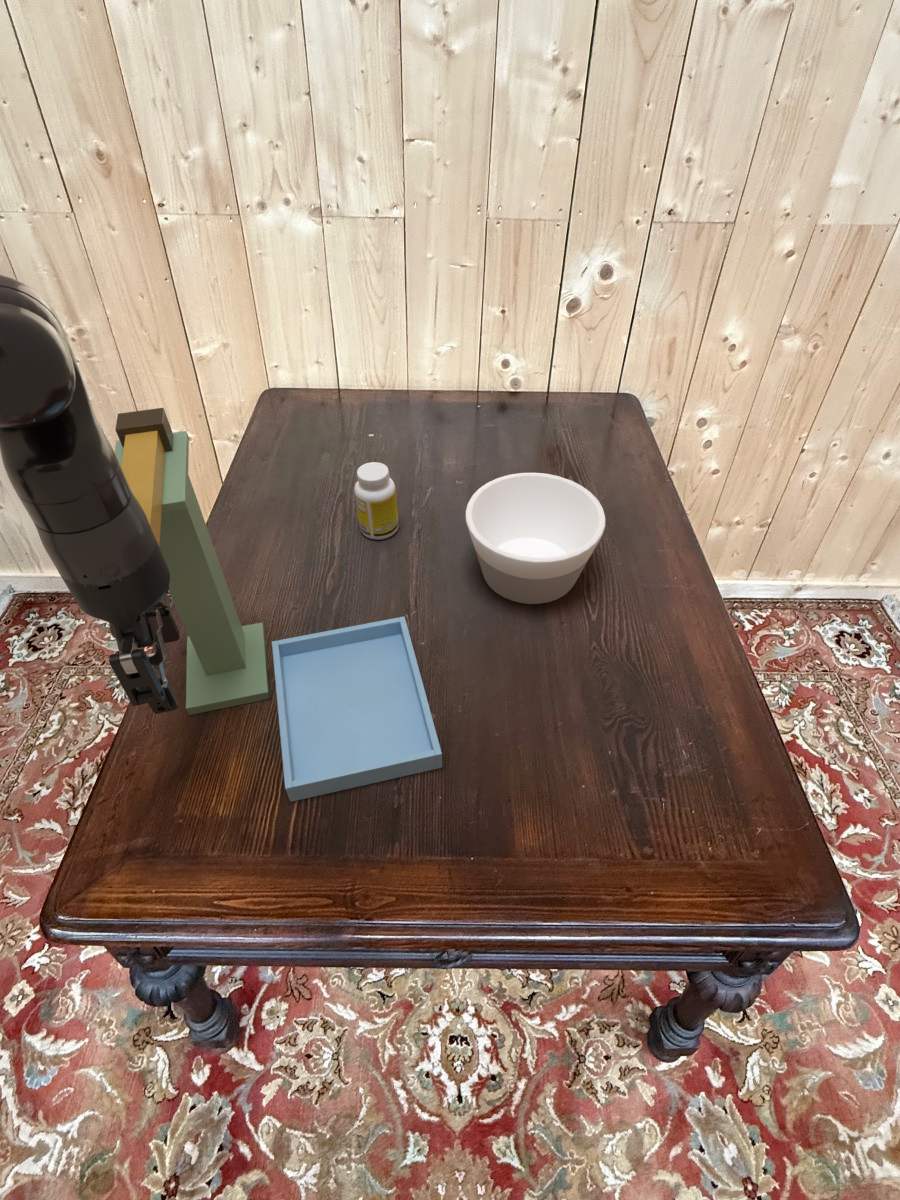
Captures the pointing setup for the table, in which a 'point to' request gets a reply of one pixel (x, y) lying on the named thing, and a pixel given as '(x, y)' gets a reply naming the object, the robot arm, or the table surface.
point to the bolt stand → (205, 600)
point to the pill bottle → (376, 501)
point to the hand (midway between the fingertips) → (168, 672)
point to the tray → (352, 709)
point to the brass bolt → (145, 458)
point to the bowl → (533, 534)
